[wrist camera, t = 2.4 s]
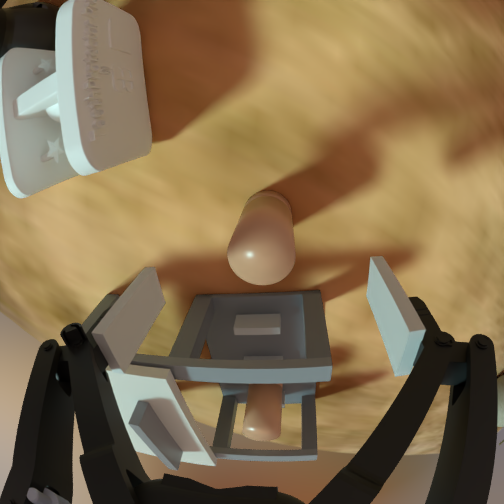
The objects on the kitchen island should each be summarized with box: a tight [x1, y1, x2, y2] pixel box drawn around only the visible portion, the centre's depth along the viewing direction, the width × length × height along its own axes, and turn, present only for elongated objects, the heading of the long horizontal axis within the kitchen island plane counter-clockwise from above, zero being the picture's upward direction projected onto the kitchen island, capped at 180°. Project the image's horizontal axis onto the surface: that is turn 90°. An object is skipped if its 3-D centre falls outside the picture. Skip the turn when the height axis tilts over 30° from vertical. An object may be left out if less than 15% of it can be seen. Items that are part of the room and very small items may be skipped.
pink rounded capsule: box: [227, 191, 296, 285], centre depth 23 cm, size 5×5×9 cm
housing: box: [81, 290, 332, 461], centre depth 32 cm, size 21×27×11 cm
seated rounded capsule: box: [242, 383, 283, 441], centre depth 33 cm, size 5×5×9 cm
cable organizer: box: [0, 0, 152, 198], centre depth 18 cm, size 15×11×12 cm
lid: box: [105, 364, 217, 470], centre depth 26 cm, size 21×14×4 cm
